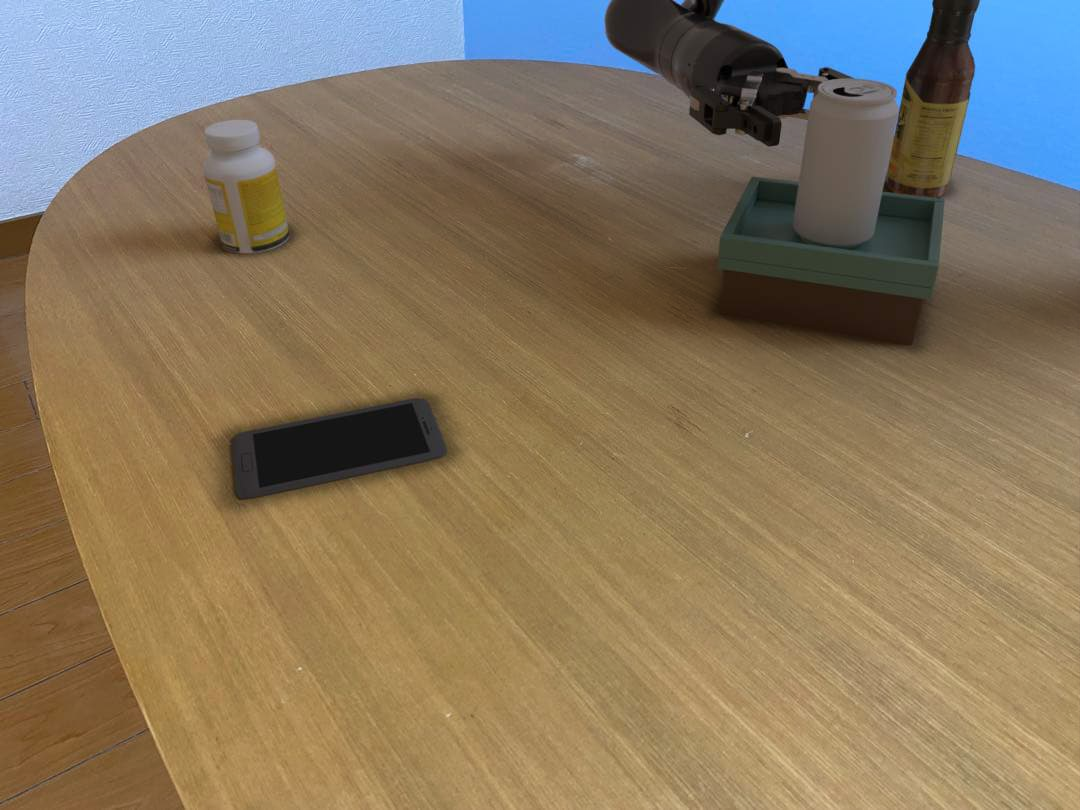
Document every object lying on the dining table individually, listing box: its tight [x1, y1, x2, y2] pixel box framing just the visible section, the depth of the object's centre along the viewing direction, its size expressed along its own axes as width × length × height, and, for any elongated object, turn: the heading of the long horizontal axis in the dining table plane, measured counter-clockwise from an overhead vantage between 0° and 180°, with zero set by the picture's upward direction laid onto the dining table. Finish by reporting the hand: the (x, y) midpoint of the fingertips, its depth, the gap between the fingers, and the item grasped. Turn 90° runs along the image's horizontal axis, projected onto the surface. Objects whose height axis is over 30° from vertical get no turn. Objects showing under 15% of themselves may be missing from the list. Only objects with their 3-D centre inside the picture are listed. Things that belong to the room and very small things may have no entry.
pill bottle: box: [202, 119, 290, 254], centre depth 88 cm, size 6×6×12 cm
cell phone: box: [230, 397, 448, 501], centre depth 64 cm, size 7×14×1 cm, turn 108°
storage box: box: [716, 176, 946, 346], centre depth 77 cm, size 16×13×8 cm
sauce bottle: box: [886, 0, 981, 198], centre depth 93 cm, size 6×6×20 cm
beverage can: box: [793, 77, 900, 249], centre depth 73 cm, size 6×6×12 cm
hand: (824, 127), depth 74 cm, fingers open, 8 cm apart
